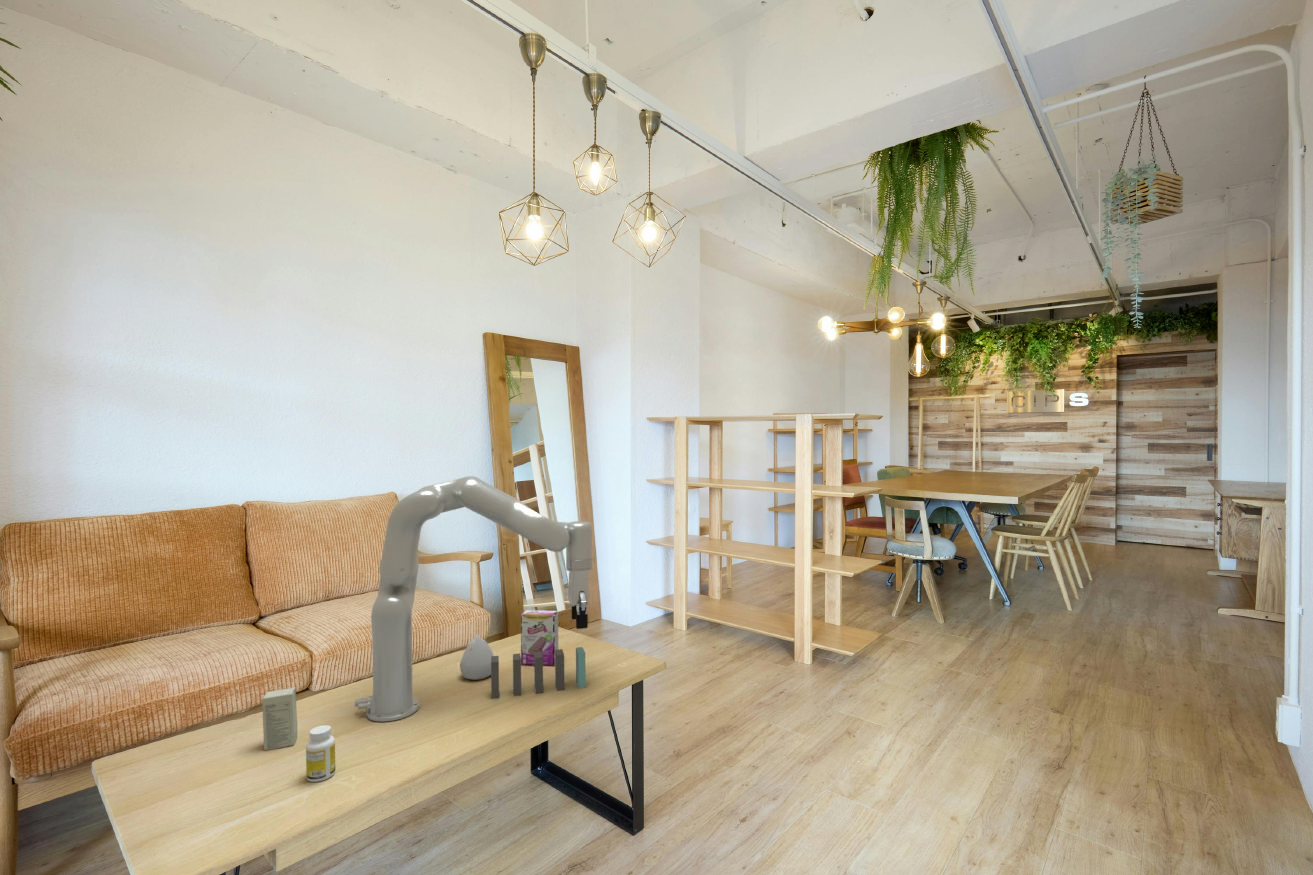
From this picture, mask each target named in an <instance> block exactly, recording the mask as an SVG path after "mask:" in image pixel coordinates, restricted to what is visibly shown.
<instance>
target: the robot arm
mask: <svg viewBox="0 0 1313 875" xmlns="http://www.w3.org/2000/svg"><path fill="white" fill-rule="evenodd" d="M462 508H466V509H468V510H469V511H471V512H474V513H476V514H477V515H480V516H482V517H484V518H486V519H488V520H489V521H491V522H494V523H495V524H497V525H498V526H501V527H503V528H504V529H506V530H508V531H510V532H513V533H515V534H517V535H519V536H521V537H523V538H524V539H526V540H528V541H530V542H532V543H533V544H535V545H538V546H540V547H541V548H543V549H546V550H548V551H550V552H554V553H555V552H556V553H558V552H562V551H563V550H566V551H565V554H566V555H565V558H566V559H565V562H566V564H565V566H566V567H565V569H566V571H567V572H568V588H567V589H568V590H567V592H568V595H567V600H568V602H569V604H570V605H571V620H575V627H576V629H577V630H581V629H588V624H589V623H588V622H589V621H588V618H589V616H588V615H589V614H588V607H587V606H588V605H589V602H590V600H589V599H590V578H589V576H590V575H589V572H590V571H592V570H593V525H592V523H591V522H589V521H580V520H578V521H577V520H576V521H570V522H568V521H567V522H565V521H554V520H551V519H549V518H547V517H545V515H542V514H540V513H539V512H537V511H535V510H533V509H532V508H530V507H529V506H527V505H526V504H525V503H524V502H523V501H521V500H519V499H518V498H516V497H514V496H512V495H510V494H508V493H506V492H504V491H503V490H501V489H499V488H497V487H495V486H493V485H491V484H489V483H488V482H486V481H484V480H482V479H481V478H479V477H477V476H474V475H469V476H464V477H461V478H457V479H453V480H448V481H445V482H444V481H443V482H440V483H435V484H430V485H425V486H423V487H421V488H420V489H418V490H417V491H415V492H412V493H410V494H408V495H406V496H405V497H403V498H402V499H401V500H399V502H398V503H396V504H395V506H393V509H392V510H391V512H390V515H389V516H388V519H387V520H388V521H387V525H386V529H385V530H386V531H385V535H384V536H385V537H384V541H383V548H382V555H381V560H380V562H379V568H378V569H379V576H380V577H379V583H378V584H379V585H378V592H377V597H376V599H375V601H374V603H373V606H372V609H371V615H370V618H371V619H370V620H371V634H372V636H371V638H372V680H373V681H372V691H373V692H372V695H371V696H370V695H369V696H368V697H366V698H363V697H362V698H361V697H360V698H355V700H354V707H355V708H358V710H362V709H364V710H365V709H367V710H366V717H367V719H368V720H370V721H372V722H373V721H374V722H382V723H384V722H393V721H397V720H398V721H399V720H401V719H404V718H407V717H408V716H411V715H413V714H414V713H416V712H417V711H418V709H419V708H420V702H419V700H417V699H416V698H414V697H413V632H412V631H413V628H412V625H413V624H412V623H413V622H412V621H413V620H412V616H413V614H412V612H413V608H414V607H413V606H414V601H415V592H416V587H417V586H416V585H417V579H418V572H419V565H420V561H419V560H420V559H419V556H418V555H419V554H418V550H419V549H418V548H419V545H420V544H419V542H420V537H421V532H422V527H423V525H424V524H425V523H426V522H427V521H429V520H433V519H435V518H436V517H437V518H438V517H439V516H440V515H441V514H442V513H446V512H450V511H454V510H455V511H456V510H458V509H459V510H460V509H462Z"/></svg>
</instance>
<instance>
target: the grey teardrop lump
mask: <svg viewBox="0 0 1313 875" xmlns="http://www.w3.org/2000/svg"><path fill="white" fill-rule="evenodd" d="M491 656H495V655H494V652H493V650H492V648H491V646H490V645H489V643H488V642H487V641H486V640H485V639H484V638H481V637H480V635H479V634H475V635H474V637H473V639H472V640H471V641H470V642H469V643H468V644H467V646H466V648H465V650H464V652H463V655H462V657H461V660H460V663H459V671H460V673H461V675H462V676H463V678H465V679H467V680H469V681H470V680H471V681H477V680H478V681H480V680H483V679H486V678H488V677H491Z"/></svg>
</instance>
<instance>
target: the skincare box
mask: <svg viewBox="0 0 1313 875" xmlns="http://www.w3.org/2000/svg"><path fill="white" fill-rule="evenodd" d="M261 699H262V701H261V702H262V704H261V705H262V727H263V728H262V729H263V750H264V751H268V750H274V749H279V748H285V747H291V746H294V745H295V744H296V742H297V739H298V718H297V717H298V716H297V714H298V713H297V691H296V687H290V688H289V687H288V688H282V689H277V690H271V691H266V693H265V694H264V695H263V697H262V698H261Z"/></svg>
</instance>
